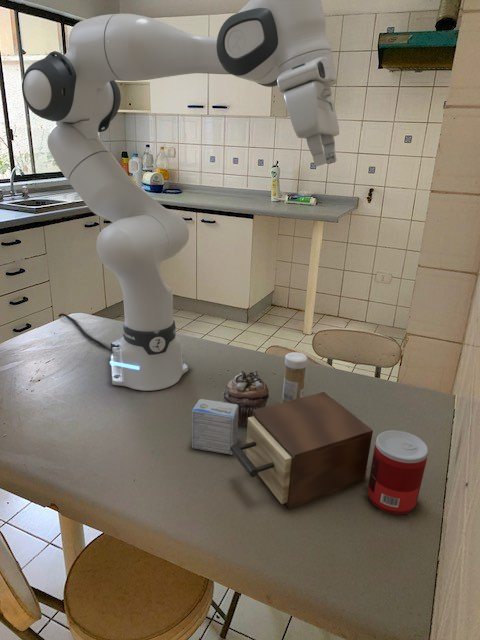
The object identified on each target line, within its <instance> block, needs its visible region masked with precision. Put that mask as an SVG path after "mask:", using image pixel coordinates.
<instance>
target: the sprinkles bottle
mask: <svg viewBox="0 0 480 640" xmlns="http://www.w3.org/2000/svg"><path fill="white" fill-rule="evenodd" d="M307 366H308V357H307V355H306V354H304V353H301V352H296V351H292V352H289V353H286V354H285V356H284V376H283V387H282V402H286V401H290V400H294V399H298V398H302V397H304V393H305V392H304V389H305V377H306V368H307Z"/></svg>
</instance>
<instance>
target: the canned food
mask: <svg viewBox="0 0 480 640" xmlns="http://www.w3.org/2000/svg"><path fill="white" fill-rule="evenodd" d="M372 454H373V455H372V461H371V465H370V466H371V467H370V472H369V477H368V483H367V494H368V499H369V500H370V502H371V503H372V505H374V506H375V507H376V508H378V509H379V510H381V511H382V512H385V513H389V514H393V515H404V514H409V513H410V512H411V511H413V509H414V508H415V507H416V506H417V503H418V499H419V495H420V490H421V486H422V483H423V477H424V474H425V469H426V465H427V461H428V455H429V447H428V446H427V443H426V442H425V441H424V440H422V438H421V437H419V436H417V435H415V434H413V433H410V432H407V431H403V430H395V429H394V430H393V429H392V430H385V431H382V432H380V433H379V434H378V435H377V437H376V440H375V444H374V448H373V453H372Z"/></svg>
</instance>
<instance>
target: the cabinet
mask: <svg viewBox="0 0 480 640" xmlns="http://www.w3.org/2000/svg"><path fill="white" fill-rule="evenodd" d="M252 416H254V417H255V418H256V419H257V420H258V422H259V423H260V424H261V425H263V426H264V427H265V428H266V429H267V430H268V431H269V432H270V433H271V434H272V435H273V436H274V438H275V439H276V440H277V441H278V442H279V443H280V444H281V445H282V446H283V447H284V448H285V449H286V450H287V451H288V453H289V454H290V455H291V456H292V462H291V473H290V483H289V493H288V502H287V503H284V504H285V505H286V507H287V508H288V509H289V510H291V509H293V508H296V507H298V506H301V505H304V504H307V503H309V502H312V501H315V500H318V499H320V498H323V497H325V496H328V495H331V494H334V493H336V492H338V491H342V490H344V489H346V488H349V487H352V486H354V485H358V484H361V483H363V482H365V479H366V474H367V469H368V468H367V467H368V463H369V456H370V450H371V444H372V439H373V433H374V429H372V428H371V427H369V426H368V425H367V424H366V423H365V422H363V421H362V420H361V419H360V418H358V417H357V416H356V415H354V414H353V413H352V412H350V411H349V410H348V409H346V408H345V407H344V406H343V405H342V404H340V403H339V402H338V401H336V400H335V399H334V398H332V397H331V396H330V395H328V394H327V393H326V392H324V391H322V392H317V393H314V394H310V395H305V396H303V397H302V398H298V399H294V400H290V401H286V402H283V401H282V402H278V403H274V404H270V405H266V407H262V408H258V409H254V410H252Z"/></svg>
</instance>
